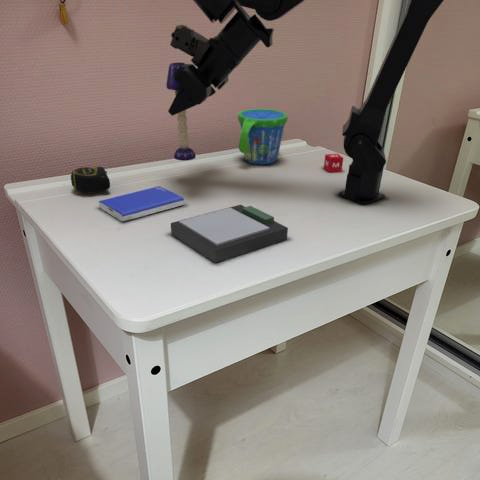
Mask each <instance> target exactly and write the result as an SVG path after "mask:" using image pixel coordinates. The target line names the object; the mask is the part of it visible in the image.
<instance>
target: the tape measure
mask: <svg viewBox="0 0 480 480" xmlns="http://www.w3.org/2000/svg"><path fill="white" fill-rule="evenodd" d="M107 173H108V171H107V170H105V168H104V167H103V166H98V167H96V166H95V167H94V166H81V167H78V168H75V169H73V170H72V171H71V174H70V182H71V186H72V187H73V189H74V190H76V191H77V192H80V193H84V194H89V193H90V194H93V193H98V192H104V191H108V190H109V189H110V188H111V181H110V178H109V175H108V174H107Z"/></svg>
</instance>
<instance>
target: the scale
mask: <svg viewBox="0 0 480 480" xmlns="http://www.w3.org/2000/svg"><path fill="white" fill-rule="evenodd" d="M288 231H289V227H287V226H285V225H284V224H281V223H279V222H277V221H276V220H275V217H274V216H273V215H271V214H269V213H267V212H264V211H262V210H261V209H258V208H256V207H254V206H253V205H247V206H245V205H242V204H237V205H234V206H229V207H226V208H222V209H217V210H215V211H211V212H207V213H203V214H199V215H196V216H191V217H189V218H184V219H180V220H177V221H176V220H175V221H173V222H170V234H171V236H173V237H174V238H176V239H177V240H179V241H181V242H182V243H183V244H185V245H187V246H188V247H190V248H191V249H193V250H195V252H197V253H199V254H201V255H202V256H204V257H205V258H207V259H208V260H210V261H212V262H213V263H214V264H217V263H220V262H223V261H226V260H229V259H231V258H235V257H238V256H242V255H244V254H247V253H250V252H253V251H256V250H260V249H262V248H265V247H268V246H271V245H275V244H277V243H280V242H282V241H286V240H288V234H289V233H288Z"/></svg>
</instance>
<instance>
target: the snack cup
mask: <svg viewBox="0 0 480 480" xmlns="http://www.w3.org/2000/svg"><path fill="white" fill-rule="evenodd" d="M237 120H238V123H239V124H240V134H239V135H240V136H239V141H238V151H239V152H240V153H242V154H243V156H244V160H245V161H247V162H248V163H250V164H254V165H263V166H264V165H271V164H274V163H275V162H276V161H278V158H279V152H280V148H281V144H282V139H283V134H284V128H285V125H286V123H287V121H288V115H287V113H285V112H283V111H280V110H275V109H270V108H269V109H268V108H250V109H245V110H242V111H240V112H239V113H238V115H237Z"/></svg>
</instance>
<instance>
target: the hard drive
mask: <svg viewBox="0 0 480 480" xmlns="http://www.w3.org/2000/svg"><path fill="white" fill-rule="evenodd" d="M184 199H185V198H184V197H183V196H182V195H179V194H177V193H175V192H173V191H171V190H169V189H167V188H164V187H162V186H161V185H158V186H154V187H149V188H146V189H142V190H137V191H132V192H130V193H126V194H122V195H117V196H112V197H109V198H105V199H102V200H101V199H100V200H99V201H98V207H99V209H100V210H102V211H104V212H105V213H107V214H108V215H110V216H112V217H114V218H115V219H117V220H119V221H120V222H126V221H130V220H134V219H137V218H141V217H146V216H148V215H151V214H152V215H153V214H155V213H159V212H163V211H167V210H170V209H173V208H177V207H181V206H184V205H185V200H184Z"/></svg>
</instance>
